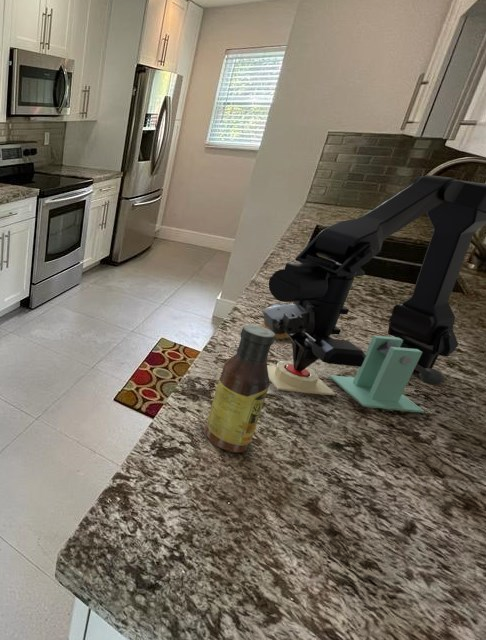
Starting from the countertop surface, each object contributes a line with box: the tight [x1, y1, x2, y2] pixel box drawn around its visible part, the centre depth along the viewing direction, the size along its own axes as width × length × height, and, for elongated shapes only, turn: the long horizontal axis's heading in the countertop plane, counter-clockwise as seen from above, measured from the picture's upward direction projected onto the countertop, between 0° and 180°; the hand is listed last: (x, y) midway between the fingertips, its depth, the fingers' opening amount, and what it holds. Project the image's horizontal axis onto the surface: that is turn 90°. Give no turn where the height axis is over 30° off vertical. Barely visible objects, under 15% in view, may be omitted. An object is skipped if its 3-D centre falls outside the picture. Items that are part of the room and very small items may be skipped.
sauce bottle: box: [205, 323, 275, 454], centre depth 62 cm, size 7×6×20 cm
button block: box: [267, 360, 336, 396], centre depth 80 cm, size 10×8×3 cm
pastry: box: [261, 321, 290, 340], centre depth 99 cm, size 9×7×4 cm
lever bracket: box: [329, 335, 425, 414], centre depth 76 cm, size 10×9×12 cm
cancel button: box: [286, 365, 309, 377], centre depth 80 cm, size 4×4×2 cm
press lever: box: [377, 341, 445, 386], centre depth 74 cm, size 12×3×3 cm, turn 83°
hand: (297, 369), depth 80 cm, fingers closed, pressing on cancel button
